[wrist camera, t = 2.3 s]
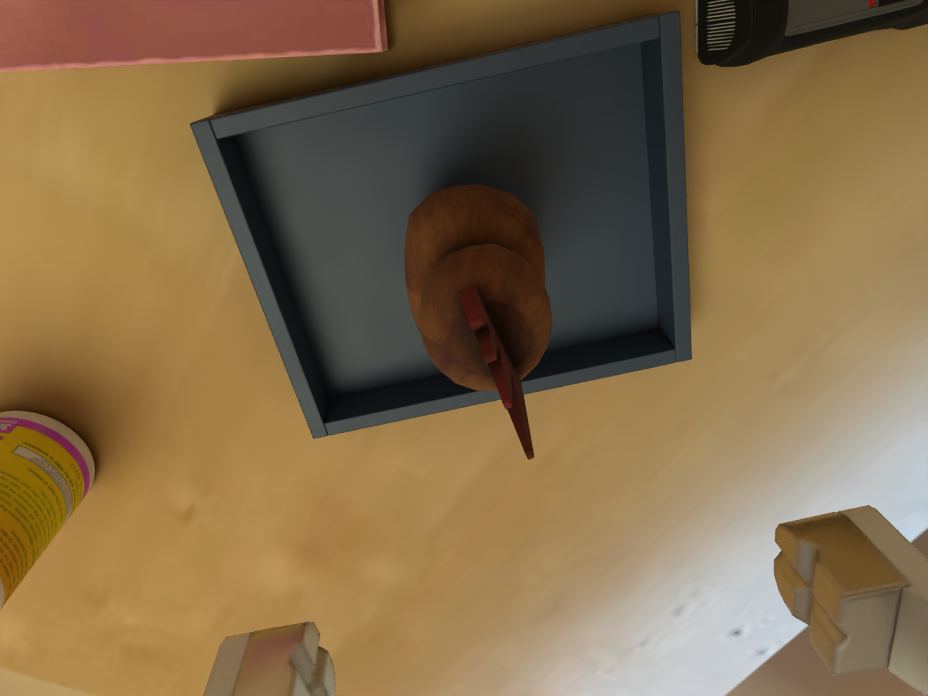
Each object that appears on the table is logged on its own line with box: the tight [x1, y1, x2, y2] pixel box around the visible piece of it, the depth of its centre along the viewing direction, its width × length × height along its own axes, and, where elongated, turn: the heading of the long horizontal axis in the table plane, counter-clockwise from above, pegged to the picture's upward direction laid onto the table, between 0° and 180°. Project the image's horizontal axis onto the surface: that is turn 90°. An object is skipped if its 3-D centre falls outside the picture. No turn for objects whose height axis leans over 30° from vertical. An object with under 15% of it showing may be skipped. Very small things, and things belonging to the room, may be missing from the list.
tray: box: [190, 11, 692, 439], centre depth 28 cm, size 20×16×3 cm
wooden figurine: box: [404, 184, 553, 460], centre depth 23 cm, size 7×6×15 cm
